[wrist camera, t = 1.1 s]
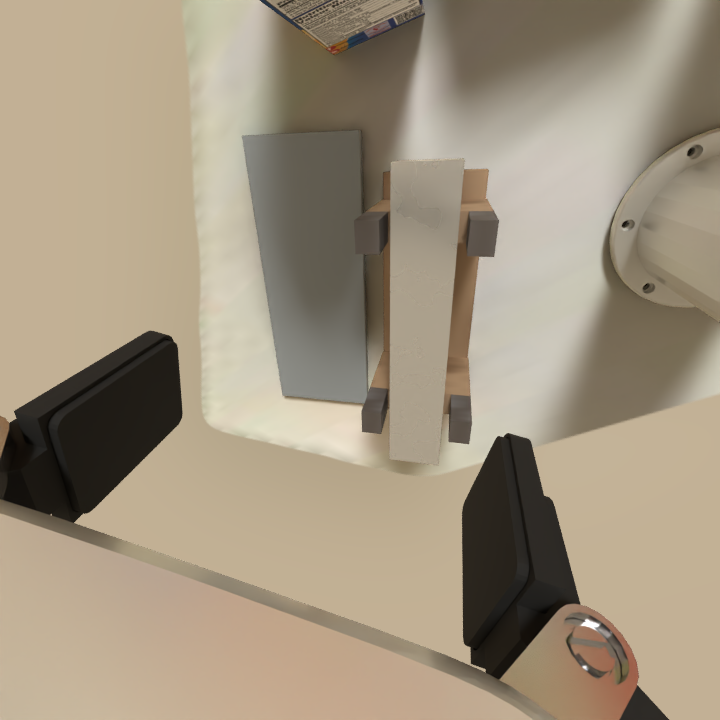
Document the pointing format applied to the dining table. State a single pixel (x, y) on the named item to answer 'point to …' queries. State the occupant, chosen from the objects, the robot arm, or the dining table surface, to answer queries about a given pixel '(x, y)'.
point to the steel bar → (421, 300)
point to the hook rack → (472, 243)
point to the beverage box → (346, 19)
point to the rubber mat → (312, 258)
